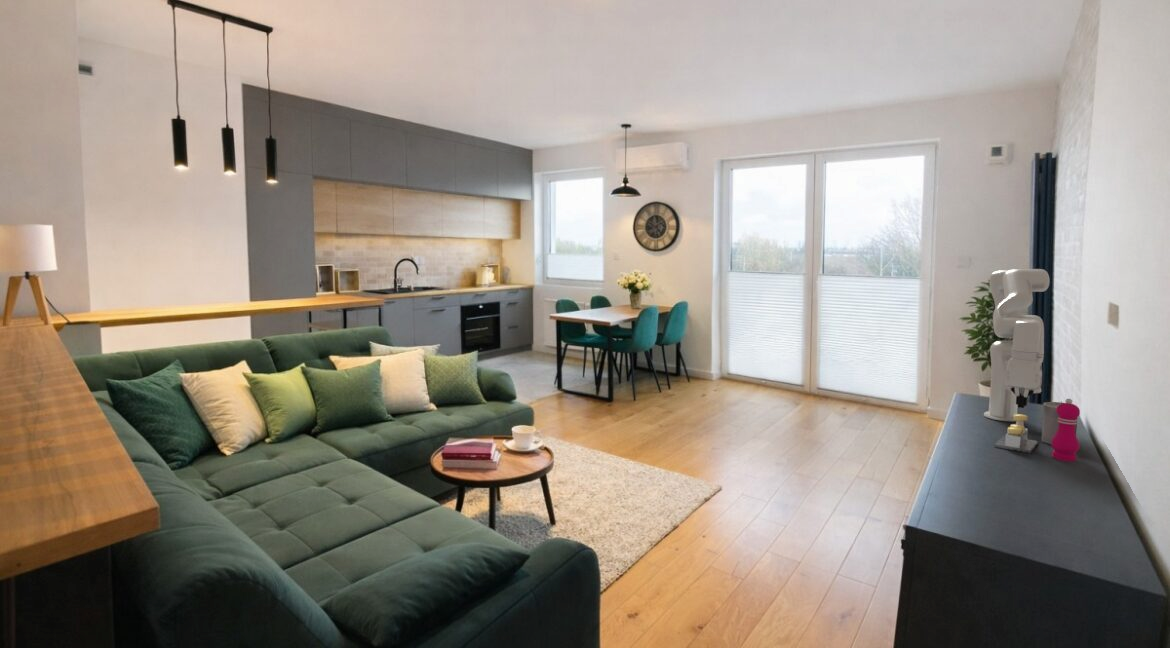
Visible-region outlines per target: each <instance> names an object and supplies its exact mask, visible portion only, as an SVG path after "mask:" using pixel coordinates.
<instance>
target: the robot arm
mask: <svg viewBox="0 0 1170 648" xmlns="http://www.w3.org/2000/svg"><path fill="white" fill-rule="evenodd" d="M988 284H989V289H990V293H991V296H992V298H993V301H994V306H995V307H994V310H993V314H992V325H993V326H992V327H993V332H994V334H995V336H997V337H998V338H1000V339H1001V338H1002V339H1012V340H997V341H994V342H993V343H992V344H991V345H990V350H989V354H990V363H991V365H990V366H991V368H990V369H991V372H990V373H991V374H990V388H989V399H988V401H989V403H988V411H985V412H984V413H983V416H984V417H985V418H987V419H990V420H995V421H1000V422H1016V420H1015V419H1013V417H1014V414H1018V408H1021V409H1024V408H1025V406H1027V405H1028V398H1029V396H1031V395H1032V394H1041V392H1042V385H1043V384H1042V382H1043V369H1042V368H1043V367H1042V365H1043V364H1042V363H1043V362H1044V357H1045V356H1044V354H1045V350H1044V349H1045V342H1044V341H1045V327H1044V321H1043V319H1042V318H1041V316H1038V315H1034V314H1022V312H1021V311H1022V310H1025V309H1026V308H1028V307H1030V306H1031V305H1032V304H1033V302H1034V297H1033V292H1035V293H1037V292H1039V293H1041V292H1043V293H1044V292H1046V291H1047V290H1048V288H1049V286H1050V276H1049V273H1048V271H1046V270H1045V269H1044V268H1043V269H1042V268H1014V269H1004V270H1003V269H1001V270H996V271H994V272H992V273H991V274H990V275H989V283H988ZM1021 389H1024V392H1023V394H1022V391H1021Z"/></svg>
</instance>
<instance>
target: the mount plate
mask: <svg viewBox="0 0 1170 648" xmlns="http://www.w3.org/2000/svg"><path fill="white" fill-rule="evenodd" d="M1028 430H1029V428H1025V427H1024V431H1022V434H1018V436H1014V435H1010V433H1008V432H1007V433H1005V435H1002V436H1001V437H1000V438H999V439H998V440H997V442H995V443H994V447H995V448H996V449H997V448H999V449H1004V450H1008V449H1009V450H1010V451H1014V450H1017V451H1016V452H1019V451H1023V452H1022V453H1025V452H1028V453H1027V454H1031V452H1032V451H1033V450H1034V449H1035V448H1036V445H1037V444H1038V441H1037V440H1034V439H1033V440H1032V439H1028V434H1029V433H1028ZM1009 450H1008V451H1009Z"/></svg>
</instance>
